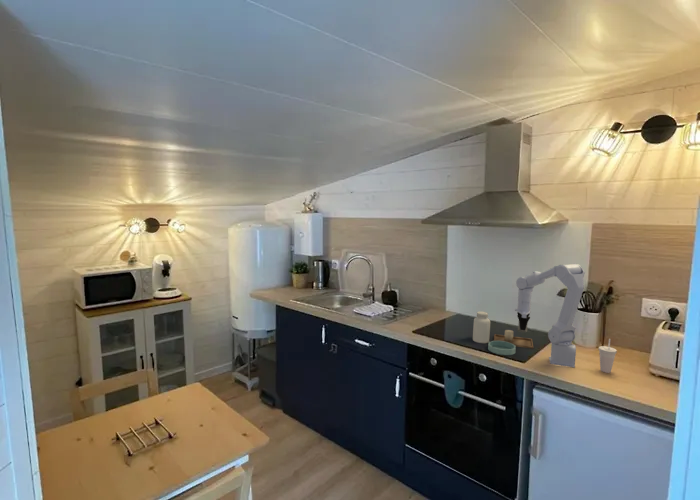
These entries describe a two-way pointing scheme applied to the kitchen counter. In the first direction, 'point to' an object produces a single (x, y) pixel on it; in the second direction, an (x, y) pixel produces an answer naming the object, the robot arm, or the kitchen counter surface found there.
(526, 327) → the pebble
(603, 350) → the smoothie
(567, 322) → the robot arm
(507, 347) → the bowl
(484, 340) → the pill bottle
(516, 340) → the tray
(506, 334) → the pebble
